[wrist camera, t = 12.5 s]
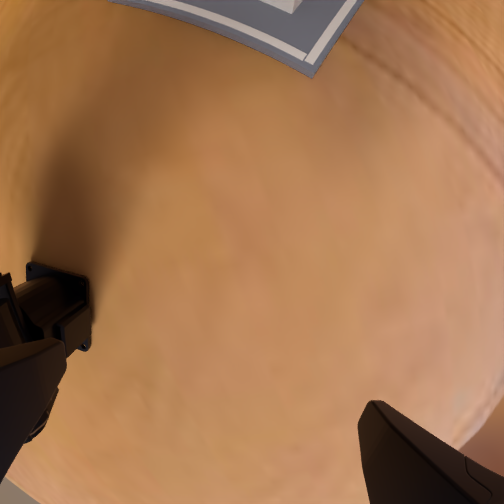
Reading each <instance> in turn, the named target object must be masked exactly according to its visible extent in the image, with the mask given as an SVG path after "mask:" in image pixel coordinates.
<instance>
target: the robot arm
mask: <svg viewBox="0 0 504 504" xmlns="http://www.w3.org/2000/svg"><path fill="white" fill-rule="evenodd" d="M31 267H32V269H31ZM11 281H12V278H11V275H10V272H9V273H6V274H3V275H2V274H1V272H0V484H1V482H2V480H3V478H4V476H5V475H6V473H7V471H8V469H9V468H10V466H11V464H12V462H13V461H14V459H15V457H16V456H17V454H18V452H19V451H20V449H21V447H22V446H23V444H25V443H28V442H30V441H32V439H33V438H34V437H36V436H37V435H38V434H39V433H40V432H41V431H42V430H43V428H44V427H45V425H46V423H47V420H48V418H49V415H50V412H51V409H52V407H53V404H54V401H55V399H56V396H57V394H58V391H59V389H58V385H59V383H60V381H61V379H62V377H63V375H64V373H65V371H66V368H67V362H66V358H68V357H69V356H70V355H71V354H72V353H73V352H74V351H75V350H76V349H78V350H81V351H84V352H86V351H88V350H89V349H90V335H91V312H90V305H89V281H88V279H87V278H86V277H85V276H82V275H79V274H75V273H71V272H67V271H64V270H60V269H57V268H53V267H50V266H46V265H43V264H39V263H36V262H32V261H31V262H28V263H27V264H26V282H24V283H22V284H20V285H18V286H16V287H14V288H13V286H12V283H11ZM81 281H83V283H84V285H82V283H81ZM83 344H84V345H85V346H86V347H85V346H84V345H83ZM358 435H359V443H360V452H361V461H362V469H363V474H364V478H365V483H366V487H367V492H368V496H369V501H370V504H504V477H503V476H501V475H499V474H497V473H495V472H493V471H491V470H489V469H487V468H485V467H483V466H481V465H480V464H478V463H477V462H475V461H473V460H471V459H470V458H468V457H467V456H465V457H464V454H462V453H460V452H459V451H457V450H456V449H454V448H453V447H451V446H449V445H448V444H446V443H445V442H443V441H442V440H440V439H439V438H437V437H436V436H434V435H433V434H431V433H429V432H428V431H426V430H425V429H423V428H422V427H420V426H419V425H417V424H416V423H415V422H413V421H412V420H410V419H409V418H407V417H406V416H404V415H403V414H401V413H400V412H398V411H397V410H395V409H394V408H393V407H391V406H390V405H388V404H387V403H385V402H384V401H381V400H371V401H369V402H368V403H367V405H366V407H365V409H364V411H363V413H362V415H361V417H360V419H359V422H358Z"/></svg>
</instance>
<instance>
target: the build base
mask: <svg viewBox="0 0 504 504" xmlns="http://www.w3.org/2000/svg"><path fill="white" fill-rule="evenodd" d="M107 1H109V2H114V3H118V4H123V5H128V6H132V7H136V8H140V9H144V10H148V11H152V12H155V13H159V14H162V15H166V16H169V17H172V18H175V19H178V20H182V21H185V22H188V23H191V24H193V25H196V26H199V27H202V28H205V29H207V30H210V31H213V32H215V33H218V34H220V35H223V36H225V37H228V38H230V39H233V40H235V41H237V42H240V43H242V44H244V45H246V46H249V47H251V48H253V49H255V50H257V51H260V52H262V53H264V54H266V55H268V56H270V57H272V58H274V59H276V60H278V61H280V62H282V63H284V64H286V65H288V66H290V67H292V68H293V69H295V70H297V71H299V72H301V73H303V74H304V75H306V76H308V77H310V78H313V76H314V75H315V73H316V72H317V70H318V69H319V67H320V66H321V64H322V62H323V61H324V59H325V58H326V56H327V55H328V53H329V52H330V50H331V49H332V47H333V46H334V44H335V43H336V41H337V40H338V38H339V37H340V35H341V34H342V32H343V31H344V29H345V28H346V26H347V25H348V23H349V22H350V20H351V19H352V17H353V16H354V15H355V13H356V12H357V10H358V9H359V7H360V6H361V4H362V3H363V2H364V0H107Z"/></svg>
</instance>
